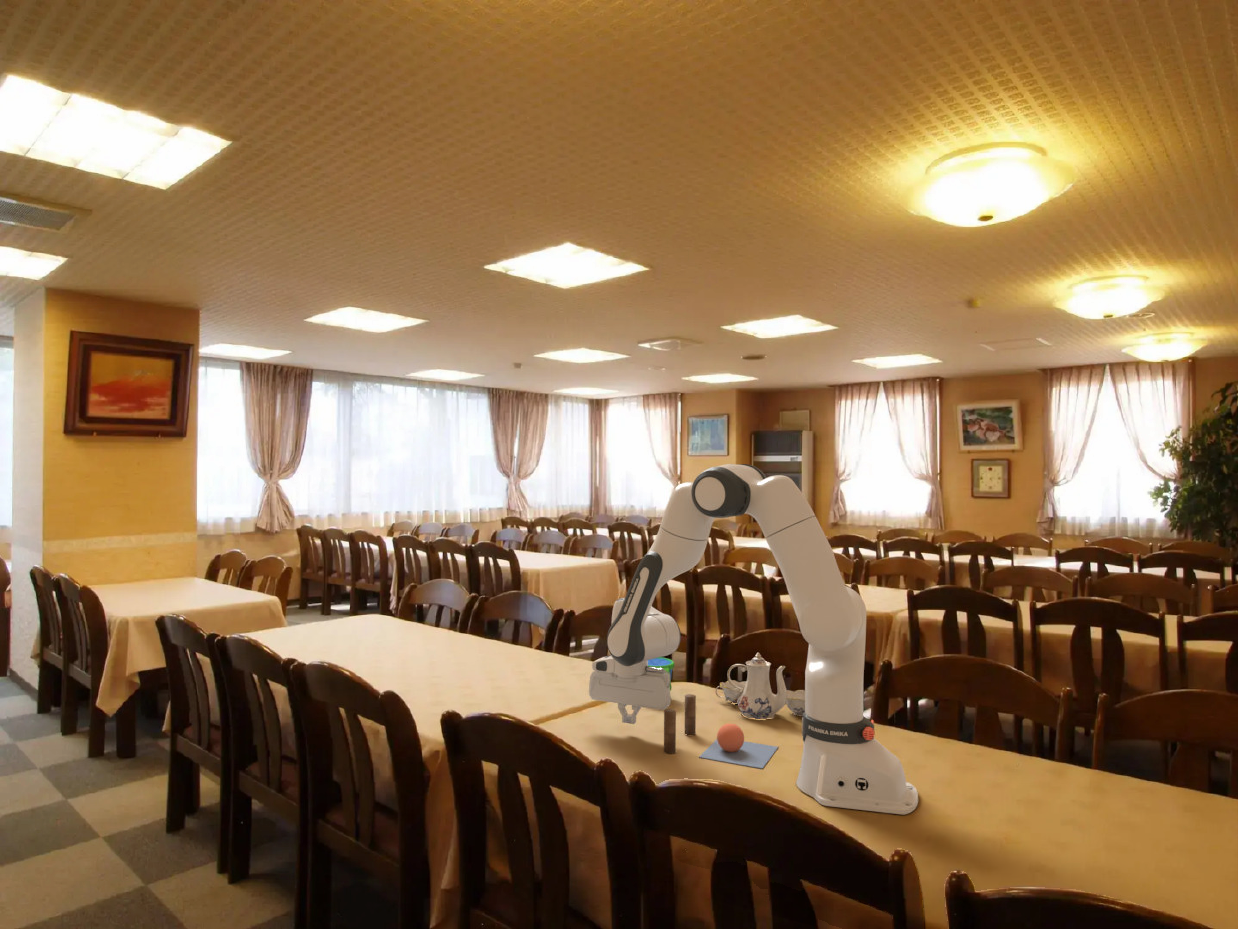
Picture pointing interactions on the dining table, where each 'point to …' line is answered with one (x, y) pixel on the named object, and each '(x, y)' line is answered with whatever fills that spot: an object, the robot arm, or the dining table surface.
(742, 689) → the chinaware
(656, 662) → the snack cup
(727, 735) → the ball
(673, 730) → the post
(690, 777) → the dining table surface
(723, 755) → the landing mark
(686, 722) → the post
